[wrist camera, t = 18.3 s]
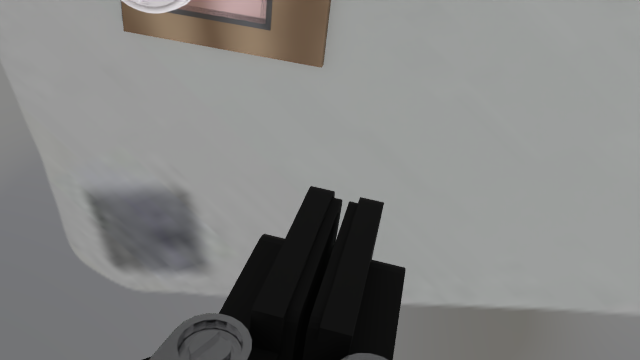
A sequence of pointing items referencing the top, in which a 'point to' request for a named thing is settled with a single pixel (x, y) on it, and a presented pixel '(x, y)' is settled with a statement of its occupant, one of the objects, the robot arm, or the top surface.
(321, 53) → the picture board
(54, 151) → the top surface
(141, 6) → the smoothie
